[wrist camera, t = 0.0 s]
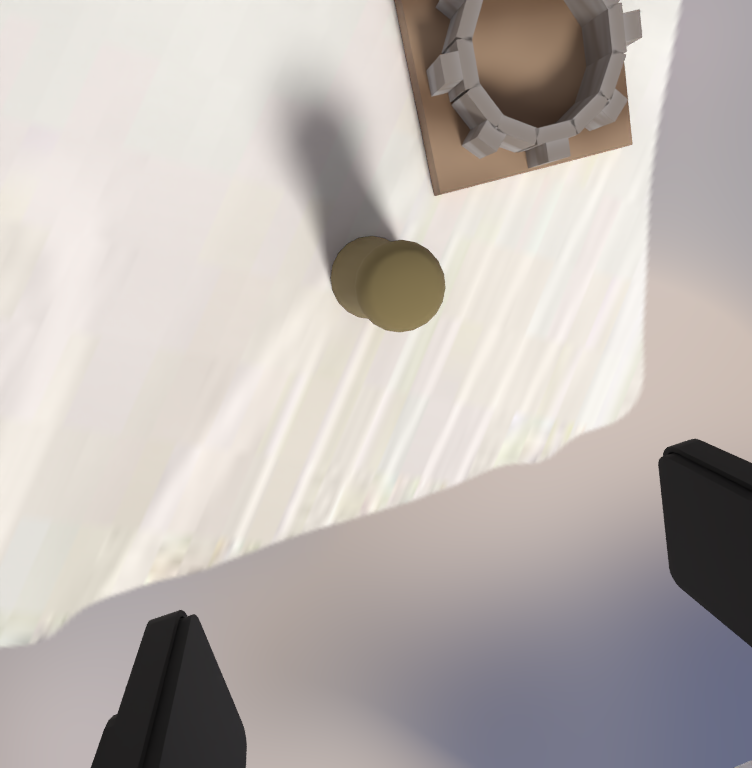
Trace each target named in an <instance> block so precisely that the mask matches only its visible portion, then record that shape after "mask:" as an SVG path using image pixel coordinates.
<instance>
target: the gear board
mask: <svg viewBox="0 0 752 768" xmlns="http://www.w3.org/2000/svg"><path fill="white" fill-rule="evenodd" d="M394 1H395V6H396V11H397V16H398V21H399V26H400V30H401V35H402V40H403V45H404V50H405V55H406V60H407V64H408V69H409V74H410V79H411V84H412V89H413V93H414V98H415V103H416V108H417V113H418V118H419V123H420V127H421V132H422V137H423V142H424V147H425V152H426V157H427V161H428V166H429V171H430V176H431V181H432V186H433V190H434V195H435V196H437V195H441V194H445V193H448V192H452V191H456V190H460V189H464V188H468V187H472V186H475V185H479V184H483V183H487V182H491V181H495V180H498V179H502V178H506V177H510V176H514V175H518V174H522V173H525V172H529V171H533V170H537V169H541V168H545V167H549V166H552V165H556V164H560V163H564V162H568V161H572V160H576V159H579V158H583V157H587V156H591V155H595V154H599V153H603V152H606V151H610V150H614V149H618V148H622V147H625V146H629V145H632V135H631V125H630V115H629V106H628V96H627V86H626V76H625V66H624V60H625V57H626V54H623V53H625V52H627V50H626V46H628V45H630V44H631V43H633V42H635V41H637V40H638V39H640V38H642V29H641V18H640V9H639V10H635V11H631V12H626V13H623V10H622V3H618V2H619V1H620V0H394Z"/></svg>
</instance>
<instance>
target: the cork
mask: <svg viewBox="0 0 752 768" xmlns="http://www.w3.org/2000/svg"><path fill="white" fill-rule="evenodd" d="M331 284H332V290H333V293H334V295H335V297H336V299H337V301H338V303H339V304H340V305H341V306H342V307H343V308H344V309H345V310H346V311H347V312H349V313H351V314H353V315H355V316H357V317H361V318H367V319H369V320H370V321H371V322H372V323H373V324H375V325H377V326H379V327H381V328H383V329H385V330H387V331H394V332H405V331H410V330H414V329H416V328H418V327H420V326H422V325H424V324H426V323H427V322H428V321H429V320H430V319H431V318H432V317H433V316H434V315H435V314H436V313H437V311H438V309H439V307H440V306H441V304H442V302H443V297H444V292H445V280H444V273H443V271H442V269H441V266H440V264H439V262H438V260H437V259H436V258H435V257H434V256H433V254H432V253H431V252H430V251H429V250H428V249H426V248H425V247H423V246H421V245H419V244H418V243H416V242H411V241H405V240H398V241H391V242H390V241H388V240H387V239H385V238H380V237H375V236H368V237H361V238H358V239H356V240H354V241H352V242H350V243H348V244H347V245H346V246H345V247H344V248H343V249H342V250H341V251H340V252H339V253H338V255H337V257H336V259H335V261H334V263H333V265H332V272H331Z"/></svg>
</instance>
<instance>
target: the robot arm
mask: <svg viewBox="0 0 752 768" xmlns="http://www.w3.org/2000/svg"><path fill="white" fill-rule="evenodd" d="M658 466H659V476H660V485H661V495H662V504H663V513H664V523H665V532H666V542H667V551H668V560H669V569H670V573H671V575H672V577H673V579H674V580H675V582H676V584H677V585H678V586H679V587H680V588H681V589H682V590H683V591H685V592H686V593H687V594H688V595H690V596H691V597H692V598H693V599H695V601H697V602H698V603H699V604H700V605H702V606H703V607H704V608H705V609H706V610H708V611H709V612H710V613H711V614H712V615H714V616H715V617H716V618H717V619H718V620H720V621H721V622H722V623H723V624H724V625H726V626H727V627H728V628H729V629H730V630H732V631H733V632H734V633H735V634H736V635H738V636H739V637H740V638H741V639H743V640H744V641H745V642H746V643H747V644H749V645H750V646H751V647H752V463H750V462H748V461H746V460H744V459H741V458H739V457H737V456H735V455H732V454H730V453H728V452H726V451H723V450H721V449H719V448H717V447H715V446H712V445H710V444H708V443H706V442H703V441H701V440H698V439H691V440H688V441H685V442H682V443H679V444H676V445H673V446H670V447H667V448H666V449H665V450H664V453H663V457H661V458H660V459H659V464H658ZM246 745H247V744H246V735H245V730H244V726H243V724H242V721H241V719H240V716H239V714H238V712H237V709H236V707H235V704H234V702H233V699H232V697H231V695H230V692H229V690H228V688H227V685H226V683H225V680H224V678H223V676H222V673H221V671H220V669H219V666H218V664H217V661H216V659H215V657H214V654H213V652H212V649H211V647H210V645H209V642H208V640H207V637H206V635H205V633H204V630H203V628H202V625H201V623H200V621H199V619H198V617H197V616H196V615H195V614H193V615H190V616H187V615H186V613H185V612H184V611H182V610H179V611H176V612H173V613H170V614H167V615H164V616H161V617H158V618H155V619H152V620H150V621H149V622H148V624H147V626H146V629H145V632H144V635H143V638H142V641H141V644H140V647H139V650H138V653H137V656H136V659H135V662H134V665H133V668H132V671H131V674H130V677H129V680H128V684H127V686H126V689H125V693H124V695H123V698H122V702H121V705H120V708H119V711H118V714H116V715H114V716H113V717H112V718H111V719H110V720H109V721H108V723H107V725H106V727H105V729H104V731H103V734H102V737H101V740H100V743H99V746H98V749H97V752H96V754H95V757H94V760H93V763H92V766H91V768H246V751H247V750H246V749H247V746H246ZM735 768H752V761H749V762H747V763H744V764H742V765H740V766H737V767H735Z"/></svg>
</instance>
